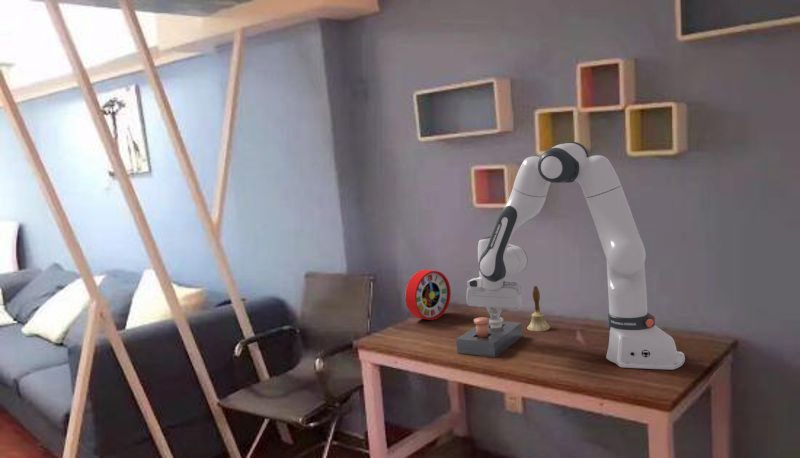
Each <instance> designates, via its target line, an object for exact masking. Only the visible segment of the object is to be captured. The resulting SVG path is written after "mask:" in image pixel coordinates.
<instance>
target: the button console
mask: <svg viewBox="0 0 800 458" xmlns="http://www.w3.org/2000/svg"><path fill="white" fill-rule="evenodd" d="M488 333H489V336H488V337H485V338H479V337H477V332H476V326H474V327H472V328H471V329H470V330H468V331H466V332H465V333H463V334H462V335H460V336H459V337H457V338H456V339H455V341H456V342H455V343H456V350H457V351H456V353H457V354H462V355H463V354H464V355H472V356H480V357H481V356H482V357H489V358H496V357H497V356H499V355H500V354H501V353H503V352H504V351H506V349H508V348H510V346H512V345H514V343H516V342H517V341H518V340H520V339H522V337H523V327H522V322H518V321H506V320H503V323H502V328H500V329H499V328H491V324H490V323H488Z"/></svg>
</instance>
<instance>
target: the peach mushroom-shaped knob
mask: <svg viewBox="0 0 800 458" xmlns="http://www.w3.org/2000/svg"><path fill="white" fill-rule="evenodd" d="M488 323H489V317H486V316H485V317H483V316H481V317H476V318H473V324H475V327H476V332H477V337H479V338H485V337H488V336H489V333H488Z"/></svg>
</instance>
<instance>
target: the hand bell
mask: <svg viewBox="0 0 800 458" xmlns="http://www.w3.org/2000/svg"><path fill="white" fill-rule="evenodd" d="M532 299H533V302H534V312H533V313H532V314H531V321H530V323H529V324H528V326H527V330H528V331H530V332H534V333H535V332H538V333H539V332H546V331H549V330H550V329H551V326H550V325H549V324H548V323H547V321H546V318H545V313H543V312H541V309H540V299H541V294H540V290H539V288H538V286H537V285H534V286H533V289H532Z"/></svg>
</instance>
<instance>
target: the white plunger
mask: <svg viewBox="0 0 800 458" xmlns="http://www.w3.org/2000/svg"><path fill="white" fill-rule="evenodd" d="M488 318H489V317H488ZM503 321H504V318H503V317H501V316H500V319H499V320H494V319H490V318H489V323H490V324H491V328H499V329H500V328H502V323H503Z"/></svg>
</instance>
